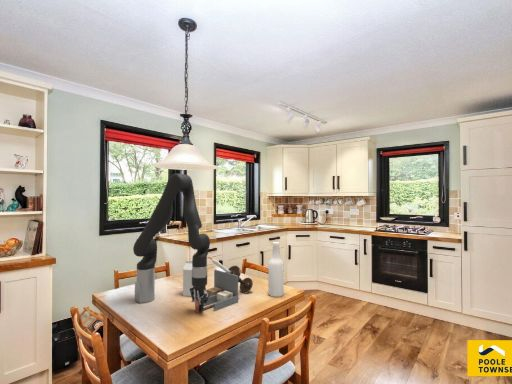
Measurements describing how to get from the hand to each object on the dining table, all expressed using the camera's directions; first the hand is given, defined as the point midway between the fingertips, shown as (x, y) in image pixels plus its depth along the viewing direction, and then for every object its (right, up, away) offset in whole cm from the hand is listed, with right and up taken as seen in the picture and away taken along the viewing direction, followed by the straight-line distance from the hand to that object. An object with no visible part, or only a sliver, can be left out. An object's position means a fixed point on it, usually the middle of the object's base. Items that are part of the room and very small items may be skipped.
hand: (199, 310), depth 136 cm
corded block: (+6, -1, +7) cm, 9 cm away
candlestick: (+22, +2, +30) cm, 37 cm away
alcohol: (+39, -1, +25) cm, 46 cm away
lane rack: (+6, -1, +13) cm, 14 cm away
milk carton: (-10, -1, +24) cm, 26 cm away
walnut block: (+5, -1, +18) cm, 19 cm away
